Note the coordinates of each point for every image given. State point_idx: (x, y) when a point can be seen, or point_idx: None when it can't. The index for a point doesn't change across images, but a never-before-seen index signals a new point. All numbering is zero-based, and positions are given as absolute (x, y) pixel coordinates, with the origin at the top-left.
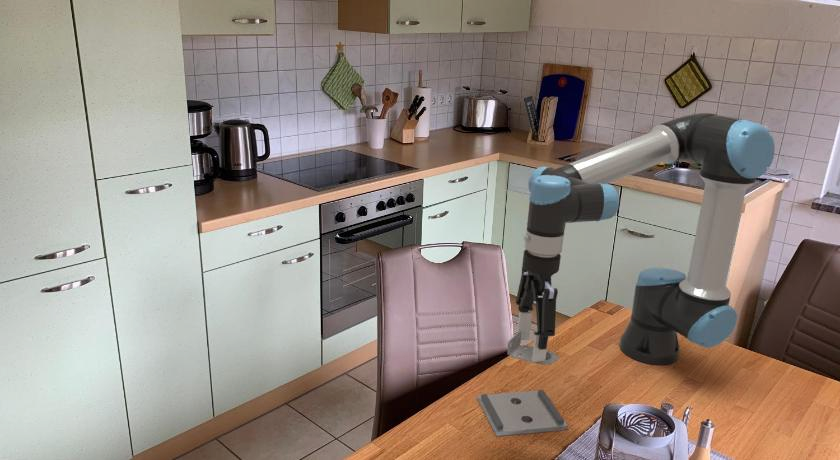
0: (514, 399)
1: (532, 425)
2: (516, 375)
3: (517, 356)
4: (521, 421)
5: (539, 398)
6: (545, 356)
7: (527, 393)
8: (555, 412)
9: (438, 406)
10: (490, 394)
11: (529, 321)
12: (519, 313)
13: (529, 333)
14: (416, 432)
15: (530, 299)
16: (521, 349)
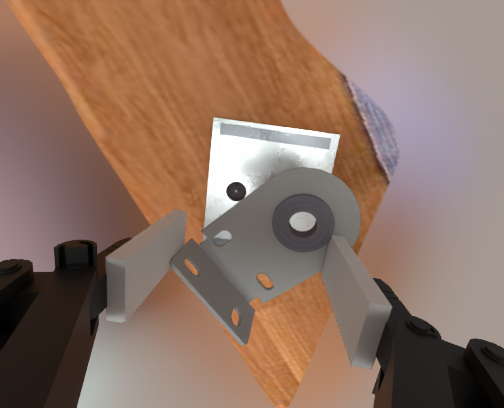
0: (230, 191)
1: None
2: (142, 137)
3: (271, 290)
4: (297, 213)
5: (240, 141)
6: (348, 244)
7: (217, 156)
8: (302, 141)
9: None
10: (205, 226)
11: (151, 247)
12: (114, 316)
13: (177, 219)
14: (263, 357)
15: (66, 385)
16: (231, 255)
